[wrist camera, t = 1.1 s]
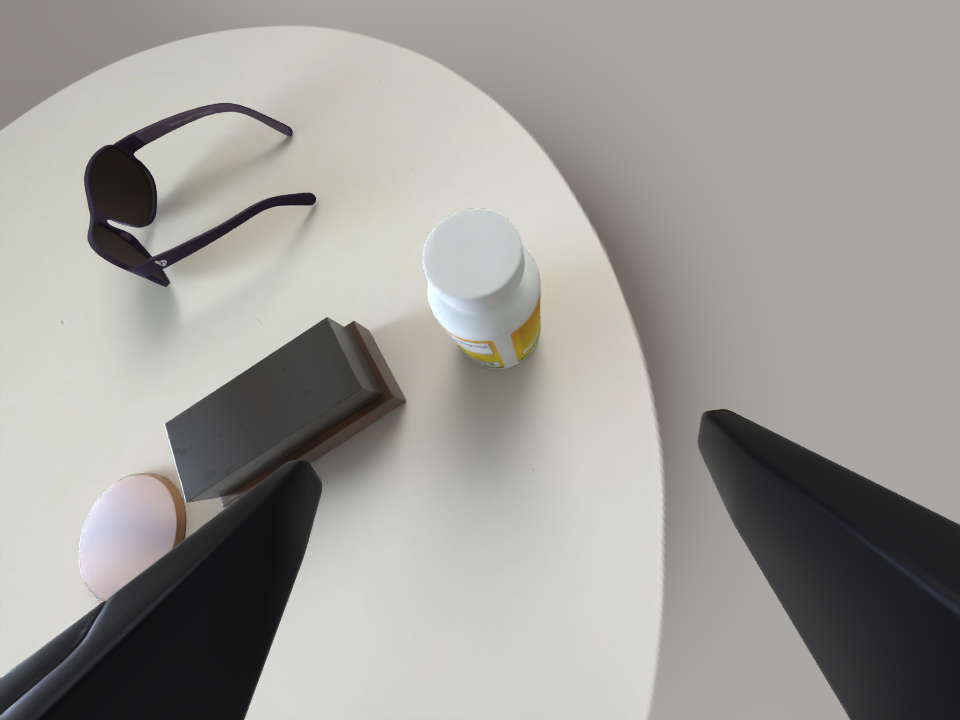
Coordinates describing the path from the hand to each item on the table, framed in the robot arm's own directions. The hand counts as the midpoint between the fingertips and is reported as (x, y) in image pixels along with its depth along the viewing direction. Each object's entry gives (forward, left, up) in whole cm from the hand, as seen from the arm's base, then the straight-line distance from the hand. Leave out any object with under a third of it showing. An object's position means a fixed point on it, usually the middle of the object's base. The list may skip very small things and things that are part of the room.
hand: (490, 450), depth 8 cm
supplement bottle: (+7, 0, -13) cm, 15 cm away
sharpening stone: (+5, +14, -13) cm, 20 cm away
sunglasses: (+25, +20, -13) cm, 35 cm away
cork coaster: (0, +28, -13) cm, 31 cm away
